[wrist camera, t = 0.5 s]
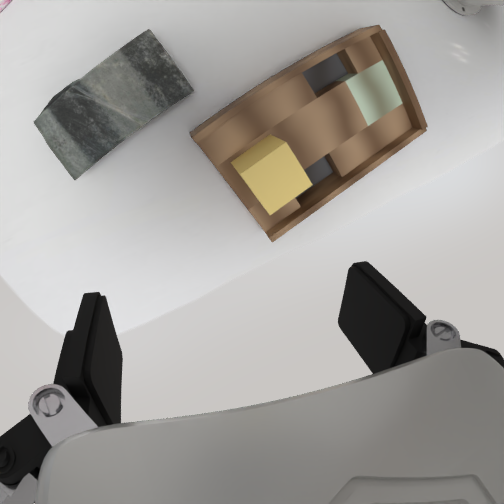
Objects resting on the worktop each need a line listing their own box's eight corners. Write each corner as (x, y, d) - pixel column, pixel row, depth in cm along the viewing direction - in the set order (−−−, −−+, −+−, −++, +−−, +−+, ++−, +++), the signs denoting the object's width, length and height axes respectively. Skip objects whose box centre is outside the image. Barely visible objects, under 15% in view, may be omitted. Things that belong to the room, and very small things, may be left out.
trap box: (360, 28, 29) (381, 24, 25) (407, 125, 37) (429, 131, 33) (189, 132, 32) (192, 138, 28) (262, 227, 39) (273, 244, 35)
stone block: (42, 110, 26) (22, 114, 22) (149, 27, 25) (145, 15, 21) (85, 170, 31) (72, 183, 26) (193, 91, 30) (196, 90, 25)
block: (270, 134, 31) (286, 141, 27) (294, 171, 34) (312, 184, 30) (230, 162, 32) (240, 174, 28) (257, 198, 34) (270, 215, 30)
